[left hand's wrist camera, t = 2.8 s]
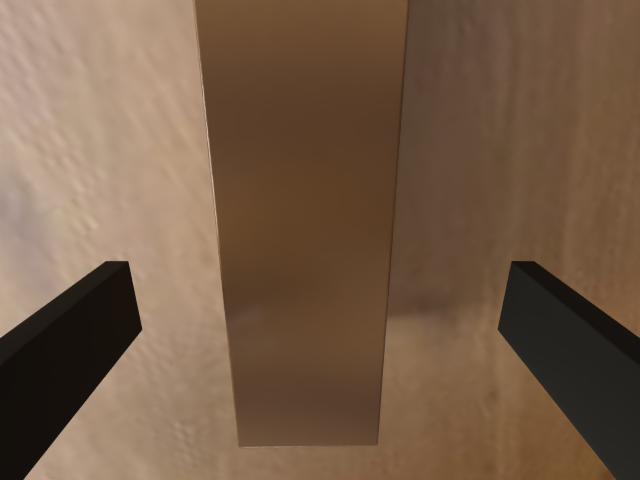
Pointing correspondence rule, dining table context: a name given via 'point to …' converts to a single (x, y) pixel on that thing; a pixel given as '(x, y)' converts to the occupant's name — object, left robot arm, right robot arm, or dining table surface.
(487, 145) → the dining table surface
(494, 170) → the dining table surface
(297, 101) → the beam
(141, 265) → the dining table surface
